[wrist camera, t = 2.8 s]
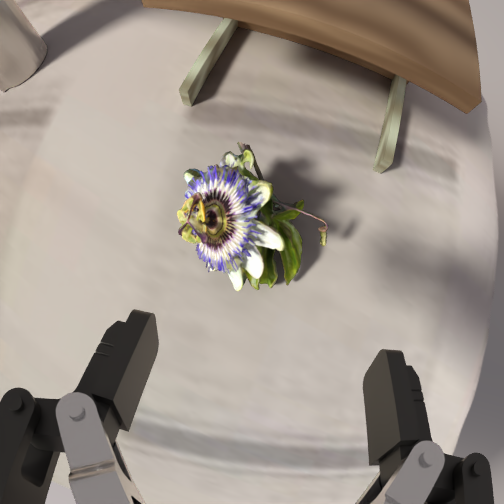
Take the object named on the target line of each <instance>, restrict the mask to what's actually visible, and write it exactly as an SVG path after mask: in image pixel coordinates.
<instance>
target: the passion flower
mask: <svg viewBox="0 0 504 504" xmlns="http://www.w3.org/2000/svg"><path fill="white" fill-rule="evenodd" d="M237 144H238V146H239V148H240V150H241V152H242V154H241V155H239V156H237V155H234V154H233V153H232V152H231V151H230V152H227V153H225V154H224V155H223V156H222V159H221V162H220V167H219V166H218V165H217V164H216V165H214V167H213V166H212V165H211V166H210V167H209V166H208V172H206V173H203V172H202V171H199V170H197V169H189V170H187V171H186V172H185V173H184V178H185V180H186V181H187V184H188V190H187V191H186V192H185V199H186V200H185V202H184V205H183V207H182V209H180V210H178V212H177V215H178V219H179V221H180V223H181V224H182V226H181V227H180V228H179V231H178V233H179V235H181V236H182V238H183V239H184V240H186V241H187V242H190V243H196V242H197V248H196V251H198V254H197V255H198V257H199V259H202V260H203V261H204V262H206V261H207V264H206V268H207V266H208V267H209V270H210V271H217V270H219V271H222V272H223V273H226V272H227V273H228V276H229V278H230V279H231V281H232V284H233V286H234V289H235V290H236V291H240V289H241V288H242V286H243V285H244V283H245V281H246V278H248V280H249V282H250V284H251V286H252V287H254V288H255V289H257V290H259V289H260V288H259V283H260V284H268V285H269V287H270V288H272V287H273V285H274V284H275V283H276V281H277V279H278V273H277V269H276V261H275V260H274V258H273V257H274V253H275V251H276V249H277V250H279V253H280V257H281V260H282V264H283V267H284V271H285V274H284V278H285V281H286V285H289V283H290V281H291V280H292V279H293V278H294V276H295V275H296V274H297V273H298V271H299V268H300V263H301V254H302V238H301V236H300V234H299V233H298V230H296V228H295V227H294V225H293V224H292V223H291V222H290V219H291V220H293V219H295V218H296V217H297V216H298V215H299V214H300V213H301V212H302V213H304V214H306V215H310V216H312V217H313V218H315V219H318V220H320V221H322V222H323V223H325V226H322V227H320V228H319V229H318V230H319V231H320V235H321V239H320V244H321V245H322V246H325V245H326V238H327V233H326V231H327V229H328V225H327V224H326V222H325V221H324V220H322V219H320V218H318V217H316V216H314V215H313V214H311V213H308V212H305V211H303V210H302V209H303V206H304V200H303V199H302V200H300V201H298V202H296V203H294V204H286V203H283V202H280V201H279V200H278V199H277V198H276V196H275V195H274V194H273V186H272V183H270V182H267V181H265V180H264V179H263V176H262V174H261V172H260V169H259V167H258V165H257V162H256V160H255V156H254V154H253V152H252V150H251V148H250V145H248V144H247V145H246V146H245V144H243V143H241V142H238V143H237ZM245 162H250V169H252V167H253V165H254V167H255V171H256V173H257V175H258V178H259V179H258V178H257V177H255V176H254V175H253V174H252V173H251V172H249V171H248V170H247V169H246V168H245V166H244V163H245ZM273 204H274V207H278V208H279V209H280V211H274V210H273ZM280 205H282V208H281V207H280ZM258 211H260V215H259V217H258V216H257V213H258ZM257 217H258V218H257ZM256 218H257V219H256ZM208 272H209V271H208Z"/></svg>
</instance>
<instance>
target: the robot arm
mask: <svg viewBox="0 0 504 504" xmlns="http://www.w3.org/2000/svg"><path fill="white" fill-rule="evenodd" d="M46 53H47V46H46V44H45V42H44V41H43V39H42V38H41V36H40V35H39V34H38V33H37V31H36V30H35V29H34V27H33V26H32V24H31V23H30V22H29V20H28V19H27V17H26V16H25V15H24V13H23V12H22V10H21V9H20V8H19V6H18V5H17V3H16V2H15V1H14V0H0V90H1V91H2V92H5V91H6V90H7V89H8V88H12V87H15V86H17V85H19V84H21V83H23V82H24V81H25V80H27V79H28V78H29V77H30V76H31V75H32V74H33V73H34V72H35V71H36V70H37V69H38V68H39V66H40V65H41V63H42V62H43V60H44V58H45V56H46ZM158 345H159V340H158V333H157V326H156V318H155V314H153V313H149V312H144V311H140V310H135V309H134V310H132V312H131V313H130V315H129V317H128V319H127V321H126V323H125V322H121V321H117V322H115V323H114V324H113V325H112V326H111V327H109V328H108V329H107V330H106V332H105V334H104V336H103V338H102V340H101V343H100V344H99V345H98V347H97V349H96V353H94V355H93V357H92V359H91V361H90V362H89V364H88V366H87V368H86V370H85V372H84V374H83V376H82V378H81V380H80V382H79V384H78V386H77V388H76V389H75V390H74V392H72V393H69V394H67V395H65V396H64V397H62V398H61V399H44V398H34V397H33V396H32V395H31V394H30V392H28V391H27V390H25V389H23V388H13V389H11V390H9V391H8V392H6V393H5V395H4V396H3V398H2V400H1V402H0V504H45V500H46V497H47V493H48V490H49V487H50V483H51V480H52V477H53V473H54V470H55V467H56V464H57V461H58V458H59V455H60V452H65V453H66V456H67V460H68V463H69V466H70V474H69V483H70V487H71V490H72V493H73V495H74V498H75V501H76V504H146V503H145V501H144V499H143V497H142V496H141V494H140V492H139V490H138V489H137V487H136V485H135V483H134V481H133V479H132V477H131V475H130V472H129V470H128V468H127V465H126V463H125V461H124V458H123V456H122V453H121V451H120V448H119V446H118V443H117V440H116V437H117V434H118V432H119V429H122V430H125V431H128V432H129V429H130V426H131V423H132V421H133V418H134V415H135V412H136V409H137V407H138V404H139V401H140V398H141V396H142V393H143V390H144V388H145V385H146V382H147V379H148V377H149V374H150V372H151V369H152V366H153V364H154V361H155V358H156V356H157V352H158ZM421 390H422V389H421V384H420V380H419V377H418V375H417V374H416V372H415V370H414V369H413V367H412V366H407V365H406V363H405V359H404V355H403V352H402V351H399V350H386V349H382V350H380V351H379V353H378V355H377V356H376V358H375V359H374V361H373V363H372V364H371V366H370V367H369V369H368V370H367V372H366V374H365V377H364V381H363V393H364V403H365V413H366V425H367V437H368V452H369V466H370V465H379V466H380V472H378V474H377V475H376V476H375V478H374V479H373V480H372V482H371V483H370V485H369V486H368V487H367V489H366V490H365V491H364V493H363V494H362V495H361V497H360V498H359V499H358V500H357V502H356V503H355V504H494V497H493V487H492V478H491V471H490V465H489V462H488V460H487V459H486V457H485V456H484V455H482V454H480V453H472V454H470V455H468V456H467V457H466V458H460V457H455V456H452V455H447V454H444V453H443V451H442V449H441V448H440V446H439V445H437V444H436V443H434V442H433V441H432V438H431V433H430V428H429V423H428V417H427V412H426V407H425V403H424V402H423V400H424V398H423V393H422V392H421Z"/></svg>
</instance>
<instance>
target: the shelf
mask: <svg viewBox="0 0 504 504" xmlns="http://www.w3.org/2000/svg"><path fill="white" fill-rule="evenodd" d="M142 3H143V6H144V7H148V8H160V9H170V10H179V11H187V12H194V13H200V14H207V15H213V16H218V17H223V21H222V22H221V23H220V25H219V26H218V28H217V29H216V31H215V32H214V34H213V35H212V37H211V38H210V40H209V41H208V43H207V44H206V46H205V47H204V49H203V51H202V52H201V54H200V55H199V57H198V59H197V60H196V62H195V63H194V65H193V67H192V68H191V70H190V72H189V73H188V75H187V77H186V78H185V80H184V82H183V83H182V85H181V87H180V89H179V92H180V95H181V98H182V102H183V104H184V105H188V106H192V104H193V102H194V100H195V99H196V97H197V95H198V93H199V91H200V89H201V88H202V86H203V84H204V82H205V80H206V79H207V77H208V75H209V73H210V72H211V70H212V68H213V66H214V65H215V63H216V61H217V60H218V58H219V56H220V55H221V53H222V51H223V50H224V48H225V46H226V45H227V43H228V41H229V40H230V38H231V37H232V35H233V33H234V32H235V30H236V29H237V27H241V28H245V29H249V30H253V31H257V32H261V33H265V34H269V35H273V36H276V37H280V38H283V39H287V40H290V41H293V42H297V43H300V44H303V45H306V46H309V47H312V48H315V49H318V50H321V51H324V52H326V53H329V54H332V55H335V56H337V57H340V58H342V59H345V60H348V61H350V62H353V63H355V64H357V65H360V66H362V67H365V68H367V69H369V70H371V71H374V72H376V73H378V74H380V75H383V76H385V77H387V78H389V79H391V80H392V82H391V88H390V93H389V98H388V104H387V109H386V114H385V119H384V123H383V128H382V133H381V137H380V142H379V146H378V151H377V155H376V159H375V163H374V167H373V170H374V171H376V172H378V173H382V172H383V171H385V170H386V169H387V168H388V167H389V166H390V165H391V164H392V162H393V157H394V152H395V147H396V142H397V137H398V132H399V126H400V120H401V114H402V108H403V102H404V95H405V88H406V85H407V84H408V82H409V81H410V82H412V83H414V84H416V85H418V86H419V87H421V88H423V89H425V90H427V91H429V92H430V93H432V94H434V95H436V96H438V97H439V98H441V99H443V100H444V101H446V102H448V103H449V104H451V105H453V106H454V107H456V108H458V109H459V110H461V111H462V112H464V113H466V114H468V113H469V112H470V111H471V110H472V109H474V108H475V107H476V106H477V105H478V104H480V103H481V102H482V101H481V84H480V71H479V62H478V54H477V45H476V38H475V31H474V26H473V20H472V15H471V10H470V5H469V0H142Z"/></svg>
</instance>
